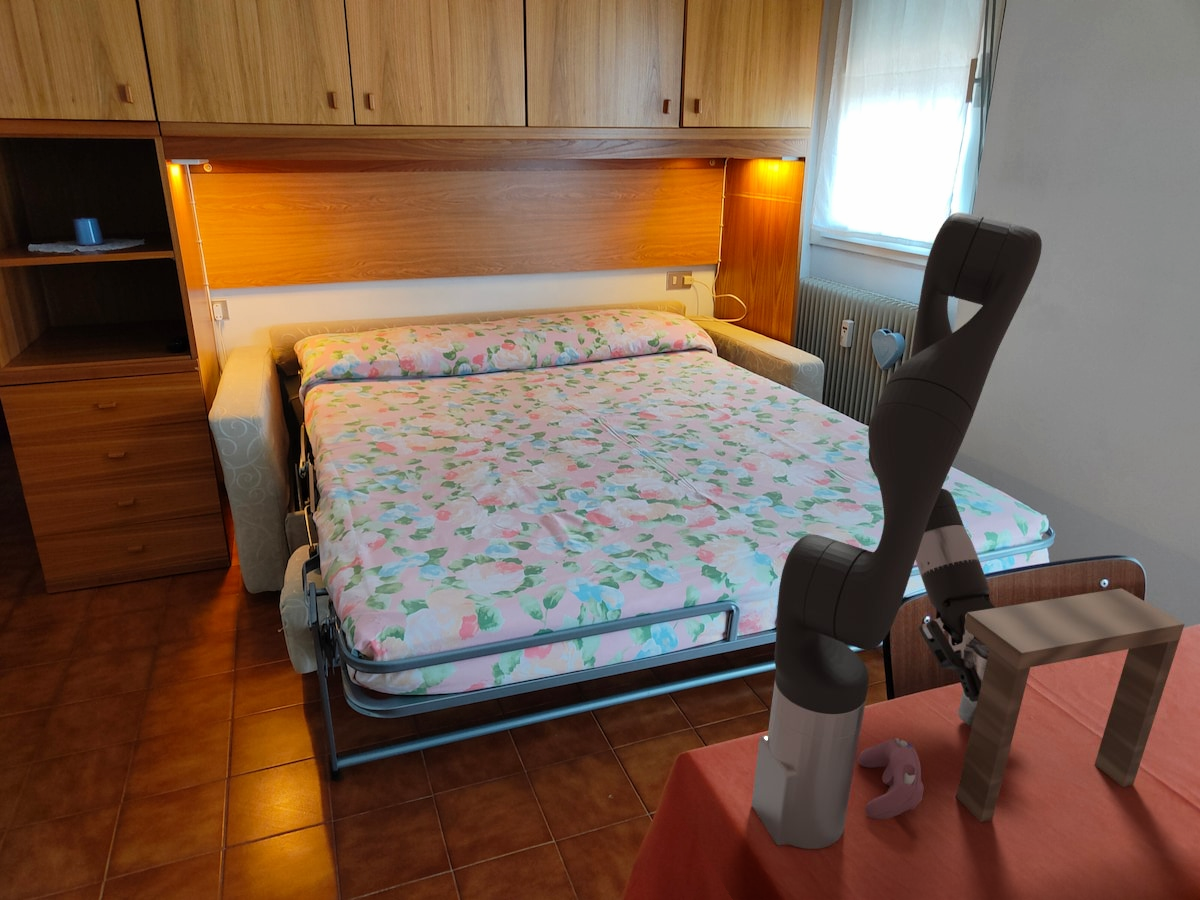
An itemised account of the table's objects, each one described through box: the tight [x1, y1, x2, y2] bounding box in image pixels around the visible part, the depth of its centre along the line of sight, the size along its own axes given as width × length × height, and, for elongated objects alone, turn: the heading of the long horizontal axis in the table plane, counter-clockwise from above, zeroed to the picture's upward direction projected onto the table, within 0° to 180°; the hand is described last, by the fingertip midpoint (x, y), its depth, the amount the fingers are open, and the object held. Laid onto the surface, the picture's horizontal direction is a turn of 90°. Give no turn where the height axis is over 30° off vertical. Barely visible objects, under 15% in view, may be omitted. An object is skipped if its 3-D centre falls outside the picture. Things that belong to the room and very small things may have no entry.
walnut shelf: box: [955, 588, 1185, 823], centre depth 94 cm, size 22×8×22 cm, turn 107°
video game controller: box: [857, 737, 924, 820], centre depth 94 cm, size 10×5×7 cm, turn 169°
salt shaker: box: [957, 637, 990, 727], centre depth 104 cm, size 5×5×11 cm
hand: (996, 696), depth 102 cm, fingers closed on salt shaker, 4 cm apart
